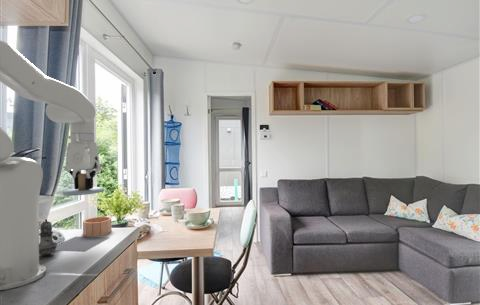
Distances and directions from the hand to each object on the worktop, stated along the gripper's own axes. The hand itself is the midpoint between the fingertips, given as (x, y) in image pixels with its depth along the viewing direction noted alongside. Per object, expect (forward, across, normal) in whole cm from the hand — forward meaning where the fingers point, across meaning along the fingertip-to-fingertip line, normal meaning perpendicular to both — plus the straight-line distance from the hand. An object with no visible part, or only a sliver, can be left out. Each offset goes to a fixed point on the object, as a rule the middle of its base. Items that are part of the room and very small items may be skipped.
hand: (83, 188), depth 97 cm
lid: (+1, 0, 0) cm, 1 cm away
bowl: (+20, -2, +10) cm, 22 cm away
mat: (+20, 0, -3) cm, 20 cm away
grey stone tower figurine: (+20, -2, -14) cm, 24 cm away
